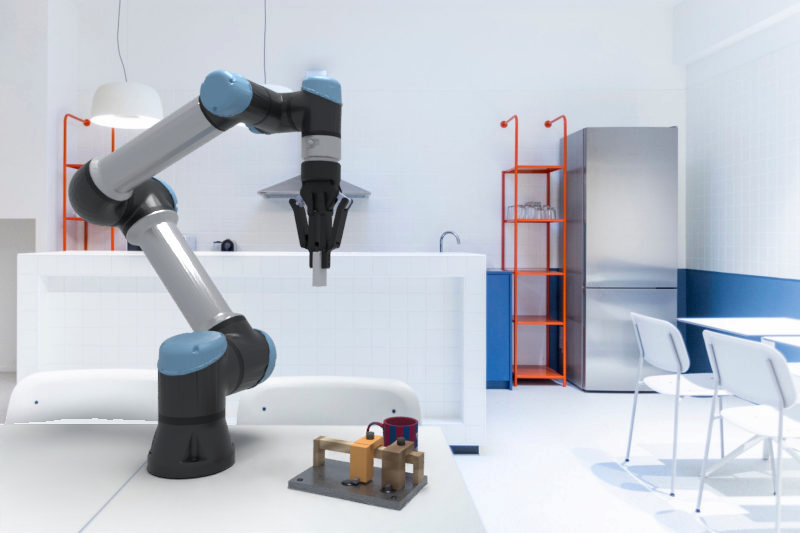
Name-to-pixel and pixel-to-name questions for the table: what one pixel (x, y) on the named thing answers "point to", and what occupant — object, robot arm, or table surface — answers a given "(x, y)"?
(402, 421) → the mug
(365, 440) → the slider leg
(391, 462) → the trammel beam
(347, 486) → the flange plate
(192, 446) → the robot arm
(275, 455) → the table surface
